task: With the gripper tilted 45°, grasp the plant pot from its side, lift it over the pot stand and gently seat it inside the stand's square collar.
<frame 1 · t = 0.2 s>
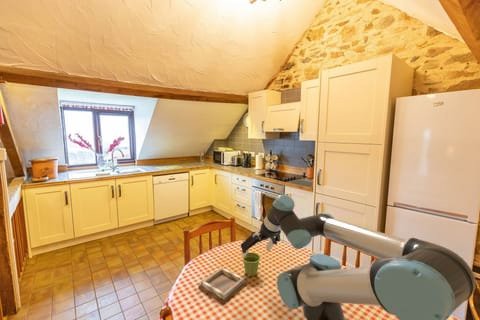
hand: (255, 252, 106), 15 cm above the table, tool tilted 35°, fingers open, 13 cm apart
pot stand: (222, 285, 105), on the table
plant pot: (251, 273, 116), on the table
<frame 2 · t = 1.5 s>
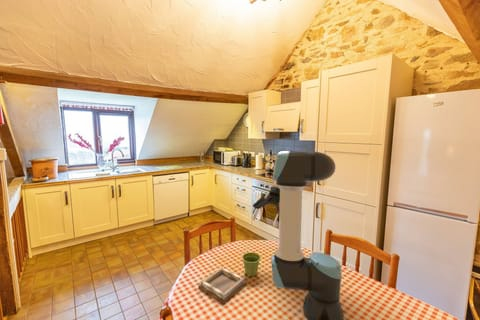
hand: (263, 222, 121), 23 cm above the table, tool tilted 45°, fingers open, 13 cm apart
nothing on the table moved.
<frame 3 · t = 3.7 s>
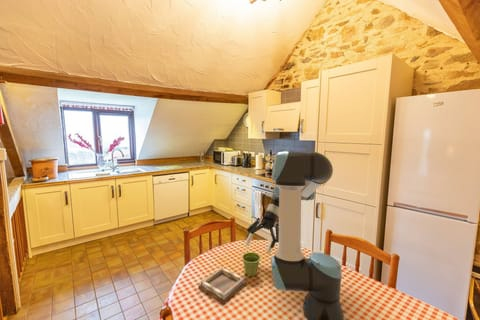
hand: (256, 248, 119), 10 cm above the table, tool tilted 45°, fingers open, 13 cm apart
nothing on the table moved.
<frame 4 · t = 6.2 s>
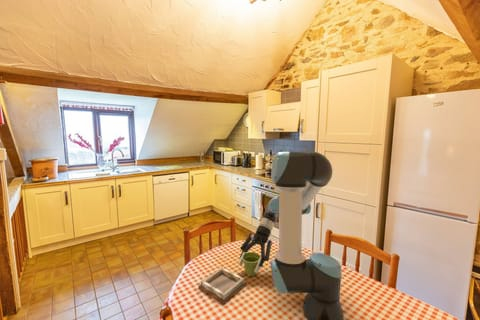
hand: (247, 268, 113), 4 cm above the table, tool tilted 45°, fingers closed on plant pot, 9 cm apart
plant pot: (251, 273, 116), on the table, touching gripper
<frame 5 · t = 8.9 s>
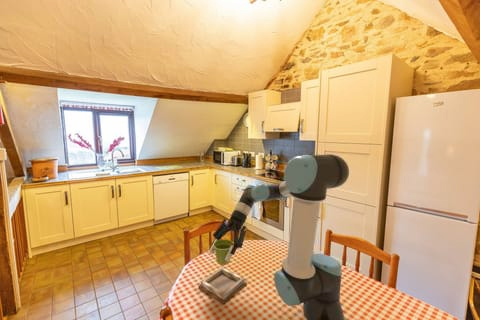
hand: (218, 256, 102), 16 cm above the table, tool tilted 45°, fingers closed on plant pot, 9 cm apart
plant pot: (223, 262, 104), point 12 cm above the table, touching gripper
when the fingers open (6 cm above the table, at t = 11.7 s): plant pot drops 1 cm, resting on pot stand.
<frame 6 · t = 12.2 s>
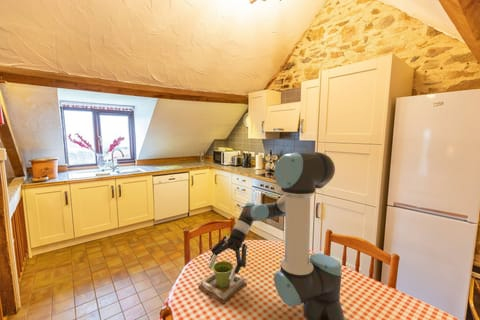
hand: (219, 274, 103), 7 cm above the table, tool tilted 45°, fingers open, 13 cm apart
plant pot: (223, 284, 105), point 1 cm above the table, touching pot stand
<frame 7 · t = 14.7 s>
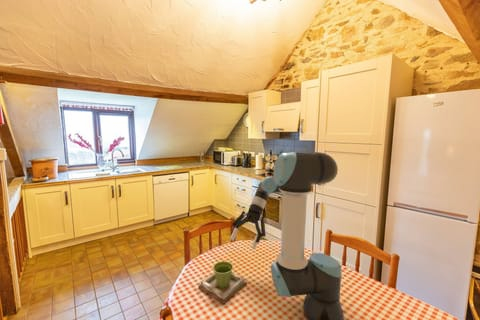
hand: (241, 244, 114), 15 cm above the table, tool tilted 40°, fingers open, 13 cm apart
nothing on the table moved.
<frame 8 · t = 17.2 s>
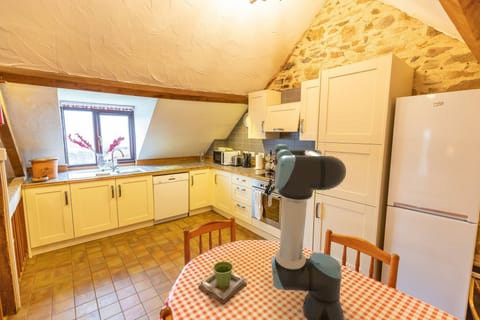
hand: (280, 208, 129), 29 cm above the table, tool pointing down, fingers open, 13 cm apart
nothing on the table moved.
at the end: plant pot 0.2 cm off-centre on the pot stand, point 0.8 cm above the pot stand's base; plant pot tilted 0°; the gripper is holding nothing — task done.
